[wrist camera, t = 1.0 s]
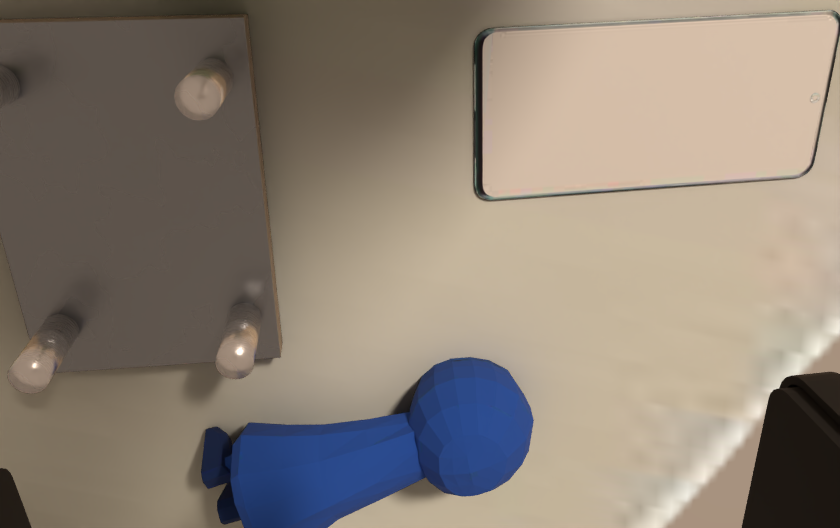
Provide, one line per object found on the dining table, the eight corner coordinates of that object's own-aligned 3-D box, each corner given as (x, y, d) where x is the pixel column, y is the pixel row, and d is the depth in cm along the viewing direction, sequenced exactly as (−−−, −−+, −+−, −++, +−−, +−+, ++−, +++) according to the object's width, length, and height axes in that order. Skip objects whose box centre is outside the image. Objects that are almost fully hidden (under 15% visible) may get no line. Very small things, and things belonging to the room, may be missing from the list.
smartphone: (474, 29, 27) (845, 9, 28) (471, 27, 28) (837, 8, 29) (475, 202, 30) (811, 177, 31) (472, 197, 31) (804, 173, 32)
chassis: (-42, 20, 25) (-117, 38, 21) (247, 14, 26) (231, 30, 22) (49, 358, 31) (5, 425, 27) (282, 343, 32) (274, 405, 28)
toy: (246, 502, 37) (532, 442, 36) (225, 606, 31) (563, 537, 31) (202, 396, 34) (513, 330, 33) (170, 490, 28) (544, 412, 28)
